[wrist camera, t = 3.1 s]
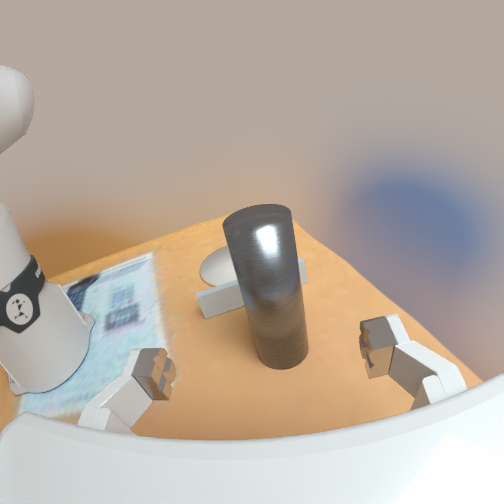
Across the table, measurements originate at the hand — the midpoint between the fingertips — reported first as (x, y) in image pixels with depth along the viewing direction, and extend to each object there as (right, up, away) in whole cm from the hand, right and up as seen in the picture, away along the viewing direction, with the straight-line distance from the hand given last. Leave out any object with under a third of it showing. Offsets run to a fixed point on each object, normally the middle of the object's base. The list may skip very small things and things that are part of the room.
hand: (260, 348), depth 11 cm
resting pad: (-3, +2, +34) cm, 34 cm away
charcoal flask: (+3, -6, +18) cm, 19 cm away
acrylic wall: (0, -2, +26) cm, 26 cm away
